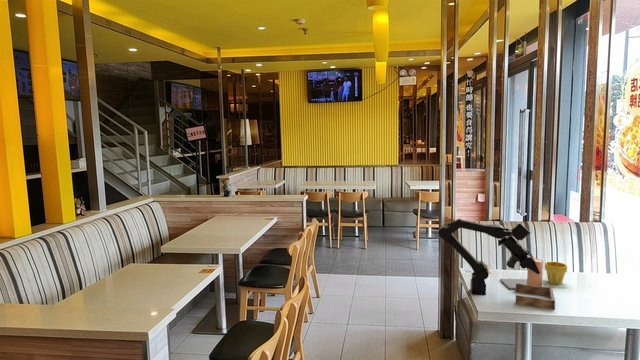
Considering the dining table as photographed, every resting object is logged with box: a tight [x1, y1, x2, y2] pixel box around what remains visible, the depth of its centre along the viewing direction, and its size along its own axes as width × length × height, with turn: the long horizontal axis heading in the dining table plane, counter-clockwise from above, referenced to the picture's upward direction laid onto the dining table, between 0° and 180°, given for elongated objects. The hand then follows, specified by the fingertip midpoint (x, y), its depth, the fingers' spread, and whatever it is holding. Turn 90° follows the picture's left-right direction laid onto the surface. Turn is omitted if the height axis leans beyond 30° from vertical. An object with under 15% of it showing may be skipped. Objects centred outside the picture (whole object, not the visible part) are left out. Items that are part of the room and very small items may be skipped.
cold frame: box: [514, 283, 556, 310], centre depth 204 cm, size 16×19×4 cm
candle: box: [526, 257, 544, 287], centre depth 204 cm, size 6×6×12 cm
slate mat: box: [499, 278, 527, 291], centre depth 224 cm, size 14×14×1 cm
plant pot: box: [544, 261, 568, 285], centre depth 227 cm, size 10×10×10 cm
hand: (538, 271), depth 203 cm, fingers closed on candle, 6 cm apart
